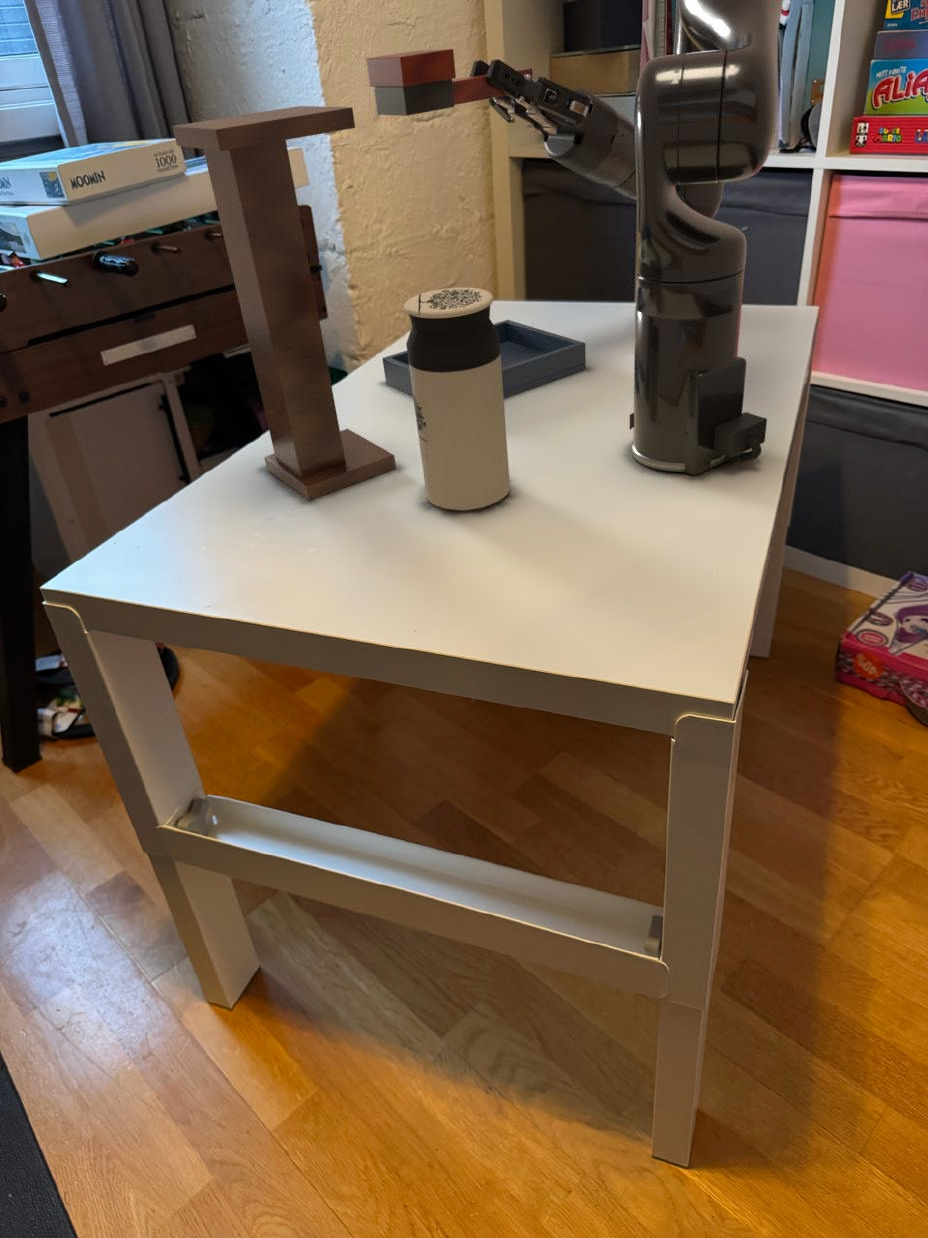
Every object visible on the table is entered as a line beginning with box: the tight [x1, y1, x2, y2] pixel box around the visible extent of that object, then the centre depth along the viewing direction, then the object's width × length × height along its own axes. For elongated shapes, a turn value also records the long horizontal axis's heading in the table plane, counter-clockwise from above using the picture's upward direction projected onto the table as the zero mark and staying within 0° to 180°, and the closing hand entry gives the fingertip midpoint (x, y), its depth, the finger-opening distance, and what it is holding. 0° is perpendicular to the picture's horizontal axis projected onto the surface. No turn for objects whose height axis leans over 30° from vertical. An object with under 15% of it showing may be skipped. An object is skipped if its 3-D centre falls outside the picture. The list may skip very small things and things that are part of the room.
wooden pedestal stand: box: [172, 105, 397, 501], centre depth 82 cm, size 12×10×32 cm
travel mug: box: [403, 287, 511, 512], centre depth 78 cm, size 8×8×18 cm
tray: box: [381, 319, 587, 399], centre depth 109 cm, size 16×20×3 cm
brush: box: [365, 48, 534, 117], centre depth 88 cm, size 17×6×5 cm, turn 125°
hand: (482, 69), depth 89 cm, fingers closed on brush, 2 cm apart
